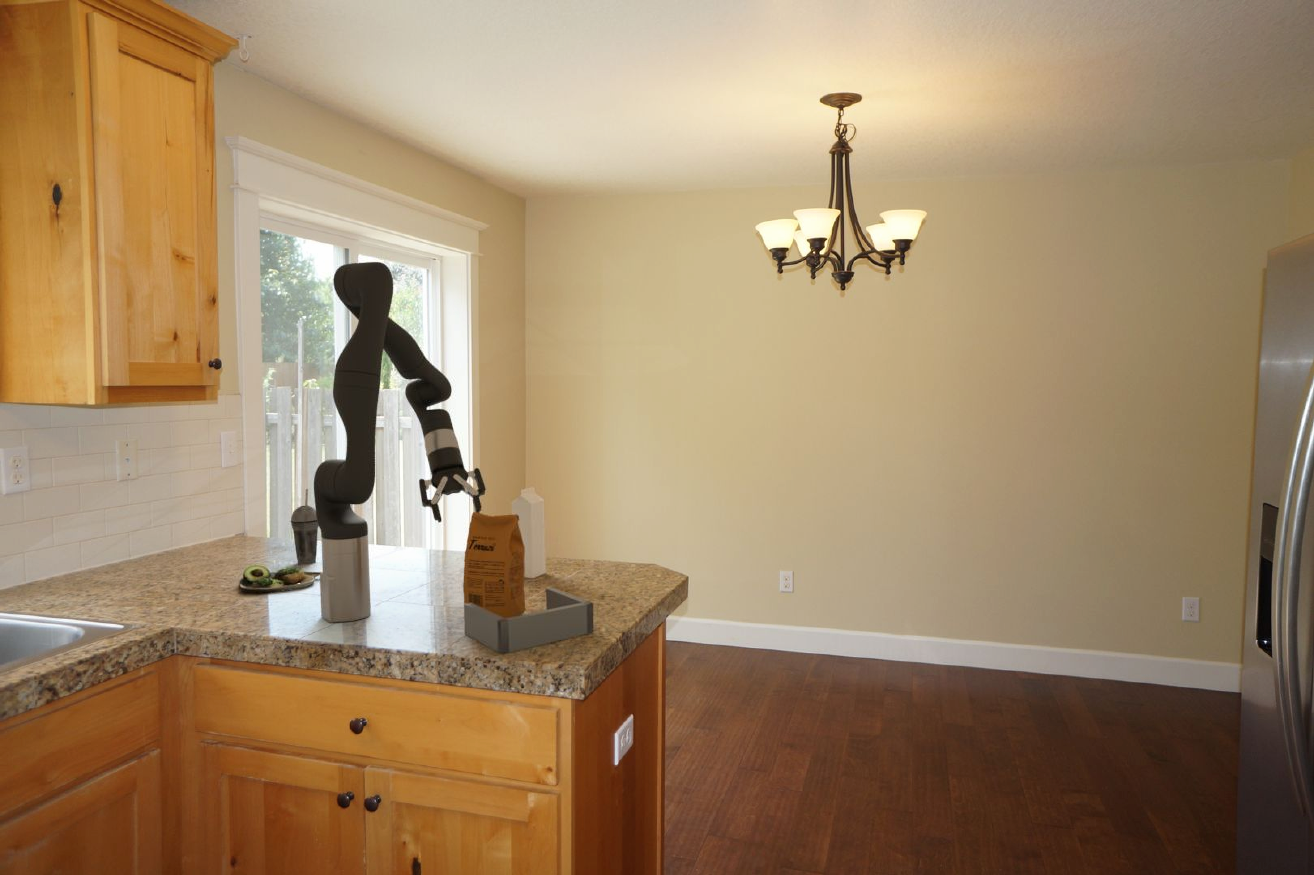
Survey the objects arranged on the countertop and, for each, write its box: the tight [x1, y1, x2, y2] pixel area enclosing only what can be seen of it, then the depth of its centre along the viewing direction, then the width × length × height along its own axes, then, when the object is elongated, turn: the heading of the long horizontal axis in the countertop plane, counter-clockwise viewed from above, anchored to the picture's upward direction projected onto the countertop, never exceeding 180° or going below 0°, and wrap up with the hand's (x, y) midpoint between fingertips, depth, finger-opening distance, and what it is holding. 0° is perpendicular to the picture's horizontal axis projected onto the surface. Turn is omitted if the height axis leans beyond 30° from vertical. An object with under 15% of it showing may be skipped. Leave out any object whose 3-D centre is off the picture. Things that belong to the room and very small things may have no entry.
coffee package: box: [462, 511, 526, 618], centre depth 179 cm, size 10×12×22 cm
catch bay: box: [463, 587, 594, 655], centre depth 168 cm, size 20×16×6 cm
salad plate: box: [238, 564, 321, 595], centre depth 209 cm, size 19×18×5 cm
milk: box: [510, 486, 547, 579], centre depth 215 cm, size 6×6×22 cm
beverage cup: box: [290, 488, 319, 565], centre depth 231 cm, size 7×7×20 cm
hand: (459, 517), depth 192 cm, fingers open, 8 cm apart
